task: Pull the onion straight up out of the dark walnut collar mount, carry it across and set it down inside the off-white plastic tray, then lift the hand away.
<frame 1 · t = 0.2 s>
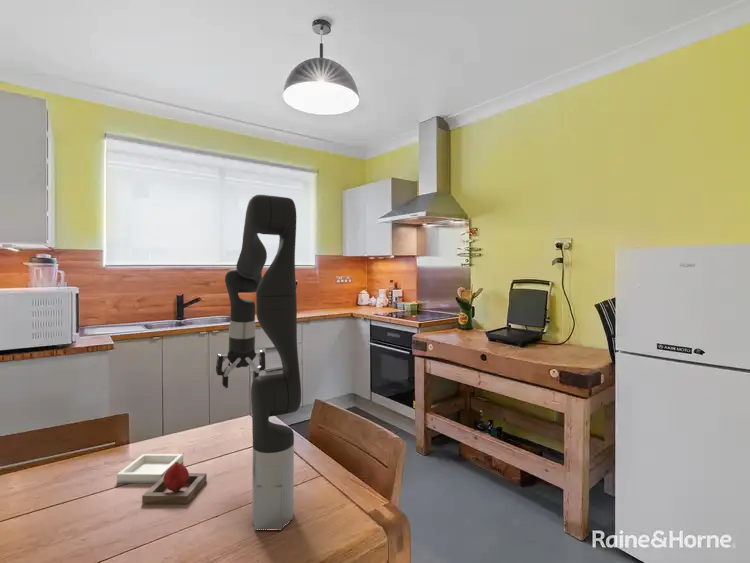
hand: (240, 385, 120), 22 cm above the table, tool pointing down, fingers open, 8 cm apart
tray: (151, 472, 111), on the table
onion: (176, 492, 101), resting in collar mount
collar mount: (176, 491, 101), on the table
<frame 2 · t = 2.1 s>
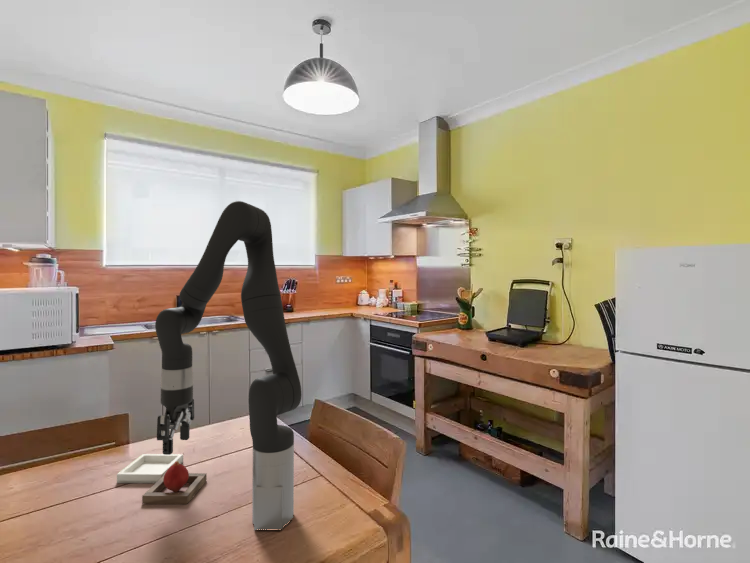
hand: (176, 446, 101), 12 cm above the table, tool pointing down, fingers open, 8 cm apart
nothing on the table moved.
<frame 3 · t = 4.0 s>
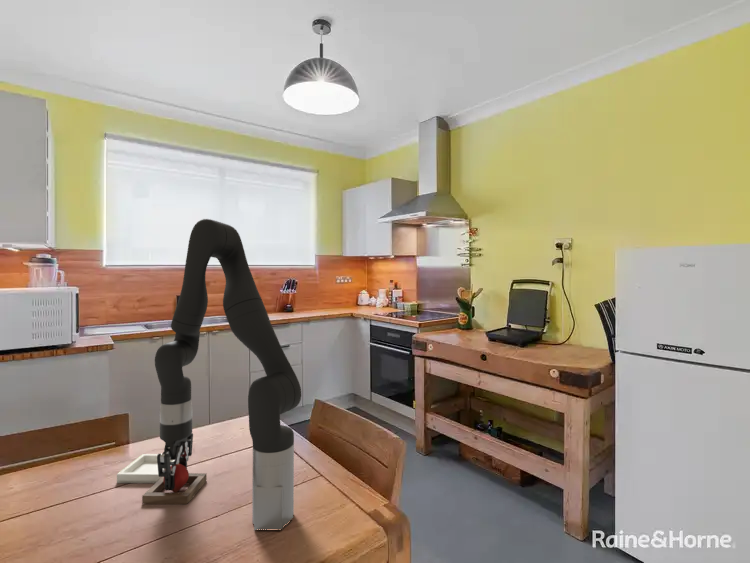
hand: (176, 482, 101), 2 cm above the table, tool pointing down, fingers closed on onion, 6 cm apart
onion: (176, 492, 101), resting in collar mount, touching gripper
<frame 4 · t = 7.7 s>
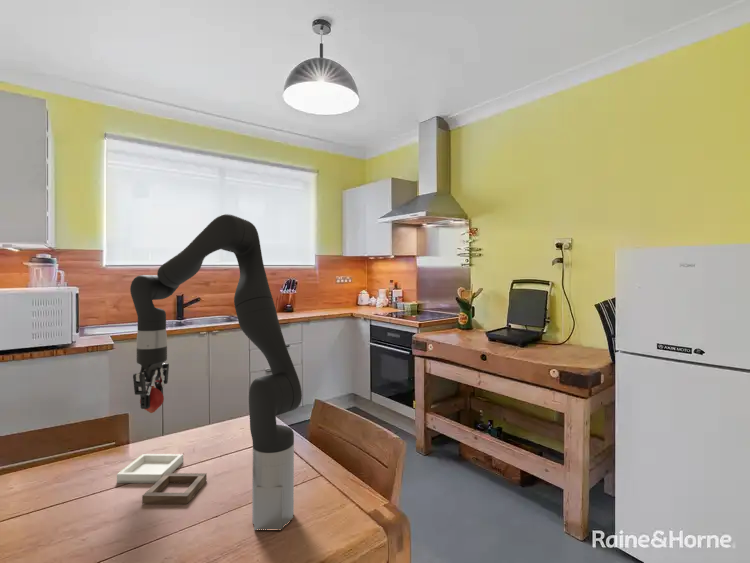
hand: (152, 404, 111), 19 cm above the table, tool pointing down, fingers closed on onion, 6 cm apart
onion: (151, 413, 111), point 17 cm above the table, touching gripper
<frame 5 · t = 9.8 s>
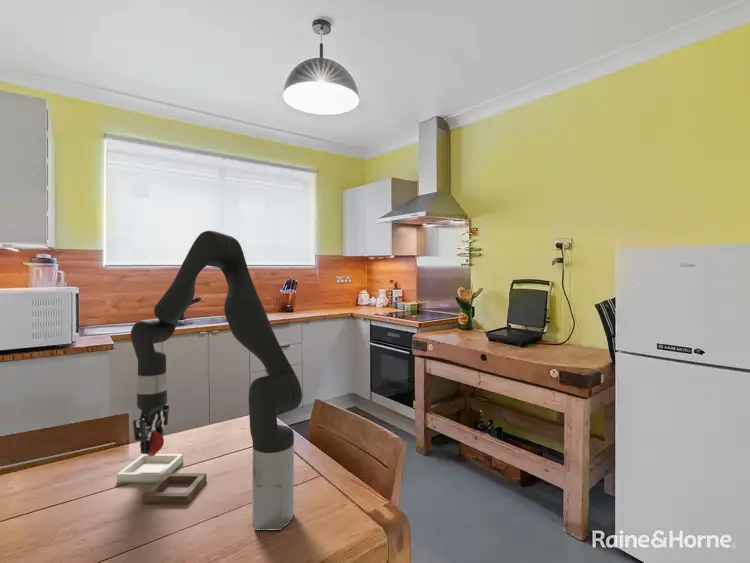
hand: (152, 447, 111), 7 cm above the table, tool pointing down, fingers closed on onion, 6 cm apart
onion: (152, 456, 111), point 4 cm above the table, touching gripper
when the fingers open (4 cm above the table, at t = 11.4 s): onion drops 1 cm, resting on tray.
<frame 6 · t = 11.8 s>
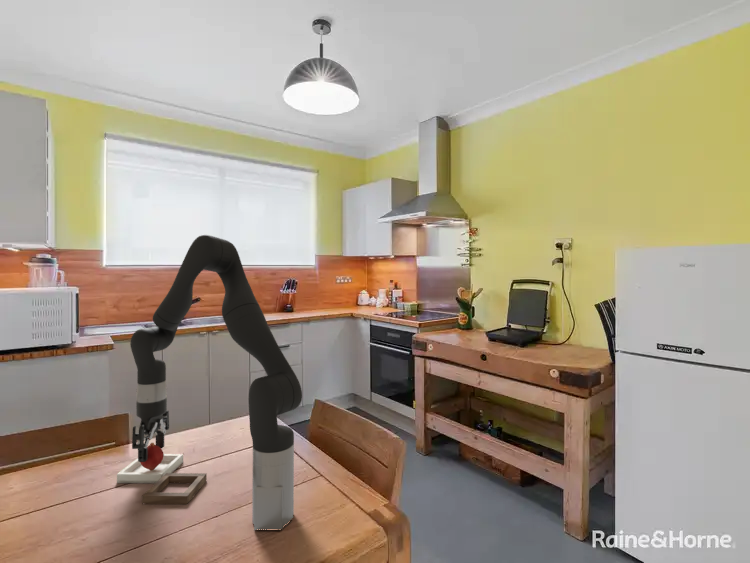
hand: (151, 454, 111), 5 cm above the table, tool pointing down, fingers open, 8 cm apart
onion: (151, 470, 111), resting on tray
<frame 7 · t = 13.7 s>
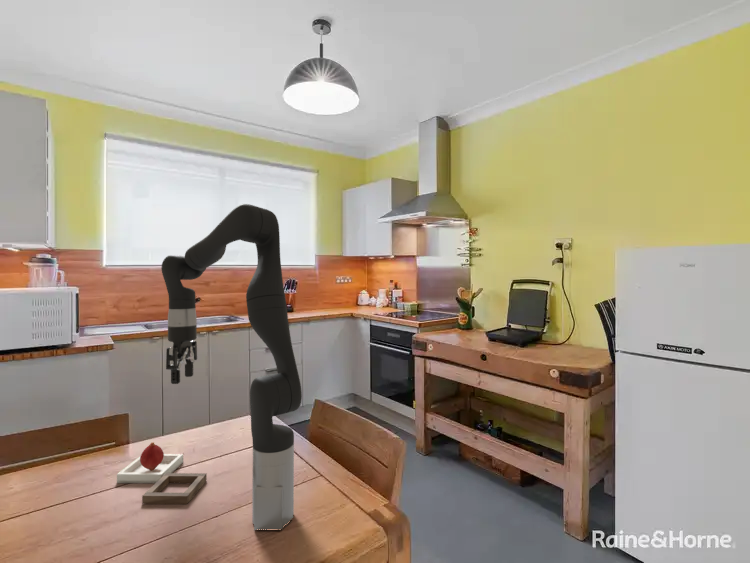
hand: (182, 379, 113), 26 cm above the table, tool pointing down, fingers open, 8 cm apart
nothing on the table moved.
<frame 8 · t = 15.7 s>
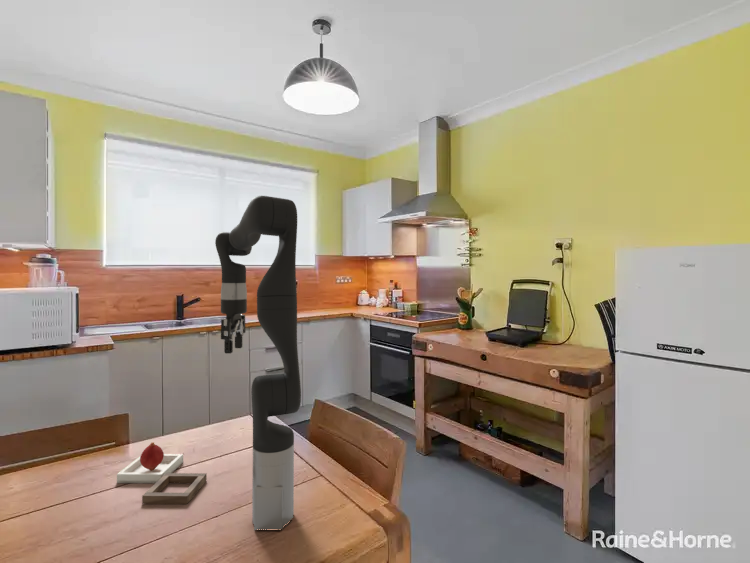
hand: (233, 350, 120), 33 cm above the table, tool pointing down, fingers open, 8 cm apart
nothing on the table moved.
at the end: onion inside the target area on the tray (0.1 cm from its centre), point 0.4 cm above the tray's base; the gripper is holding nothing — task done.
